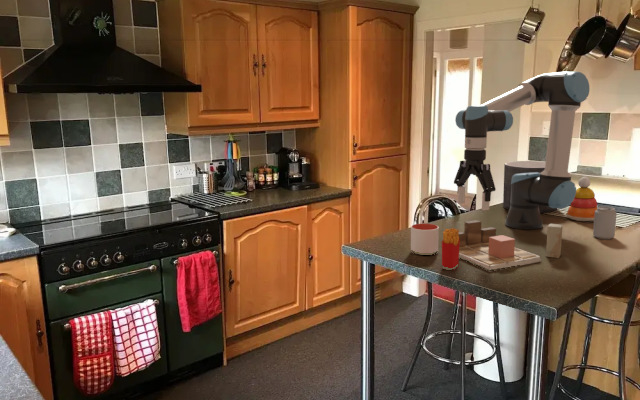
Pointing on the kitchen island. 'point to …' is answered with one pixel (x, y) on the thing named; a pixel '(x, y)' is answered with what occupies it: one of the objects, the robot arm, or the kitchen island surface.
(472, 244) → the brown upright blocks
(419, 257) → the kitchen island surface
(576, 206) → the stacking toy
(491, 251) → the cube
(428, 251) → the cup
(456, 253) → the french fries
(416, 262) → the kitchen island surface
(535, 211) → the robot arm
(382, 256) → the kitchen island surface
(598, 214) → the can
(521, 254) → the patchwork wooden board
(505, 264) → the lane board
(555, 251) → the box
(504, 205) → the planter
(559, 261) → the kitchen island surface
